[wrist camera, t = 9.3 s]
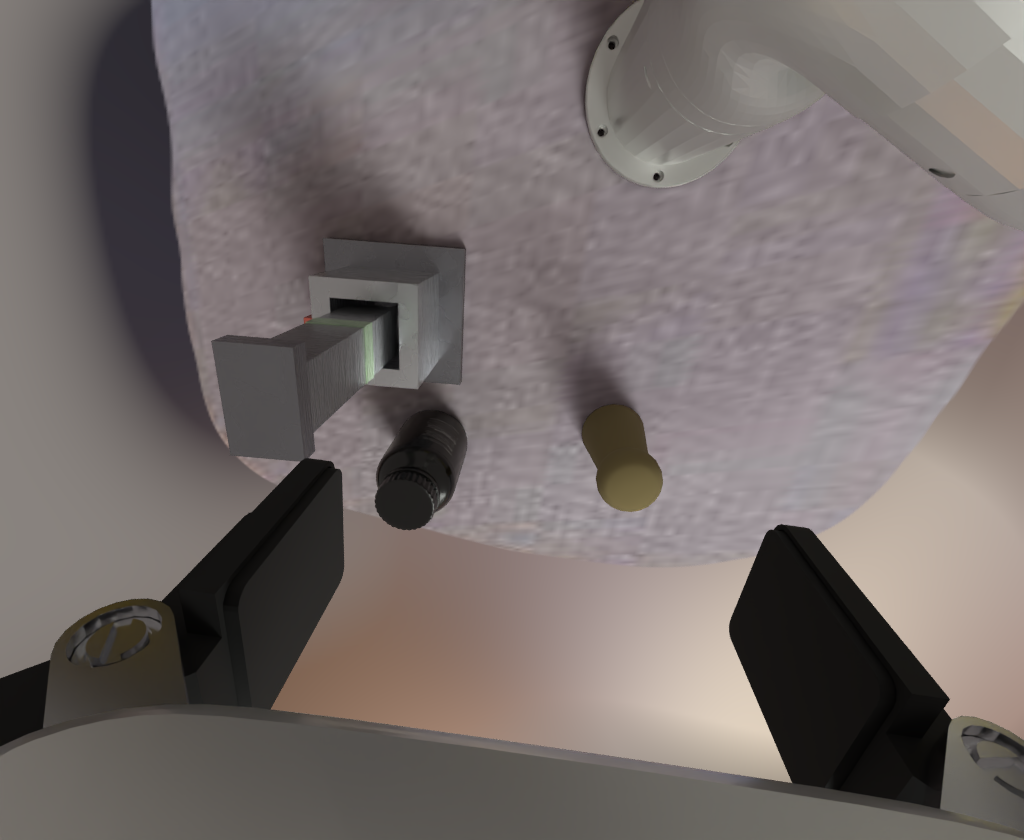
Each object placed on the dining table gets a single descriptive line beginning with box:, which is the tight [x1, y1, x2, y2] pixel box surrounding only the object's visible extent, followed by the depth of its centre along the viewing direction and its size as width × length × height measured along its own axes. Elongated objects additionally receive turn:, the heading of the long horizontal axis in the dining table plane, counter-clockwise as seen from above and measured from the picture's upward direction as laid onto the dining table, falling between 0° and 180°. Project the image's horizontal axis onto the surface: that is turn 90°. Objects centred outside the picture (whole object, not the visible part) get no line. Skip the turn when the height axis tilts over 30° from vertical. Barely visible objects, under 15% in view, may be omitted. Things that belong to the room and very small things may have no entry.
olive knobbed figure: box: [582, 404, 663, 512], centre depth 43 cm, size 6×6×11 cm
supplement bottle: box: [375, 410, 467, 530], centre depth 43 cm, size 7×7×12 cm
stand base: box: [304, 238, 466, 389], centre depth 40 cm, size 12×12×9 cm
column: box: [211, 304, 397, 462], centre depth 30 cm, size 6×4×17 cm, turn 176°
